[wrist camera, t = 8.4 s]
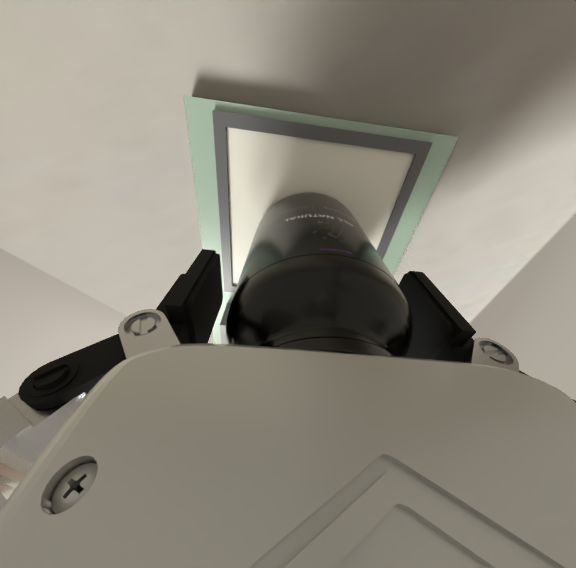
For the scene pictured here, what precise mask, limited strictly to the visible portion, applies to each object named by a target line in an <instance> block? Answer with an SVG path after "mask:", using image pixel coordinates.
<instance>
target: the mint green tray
mask: <svg viewBox="0 0 576 568" xmlns="http://www.w3.org/2000/svg"><path fill="white" fill-rule="evenodd" d="M183 96H184V95H183ZM184 104H185V112H186V120H187V128H188V136H189V144H190V152H191V160H192V168H193V176H194V184H195V193H196V201H197V209H198V217H199V225H200V233H201V241H202V249H207V250H215V251H216V254H220V263H221V277H222V290H223V302H222V305H221V308H220V310H219V313H218V316H217V319H216V321H215V324H214V327H213V329H212V330H213V338H214V344H227V339H226V320H227V316H228V312H229V308H230V304H231V301H232V299H233V296H234V293H235V290H236V287H237V284H238V281H239V278H240V275H241V272H242V270H243V267H244V264H245V261H246V258H247V255H248V252H249V249H250V246H251V244H252V241H253V238H254V235H255V232H256V230H257V227H258V225H259V223H260V221H261V219H262V217H263V216H264V215H265V213H266V212H267V211H268V210H269V209H270V208H271V207H272V206H273V205H274V204H275V203H277V202H278V201H280V200H281V199H283V198H286V197H288V196H291V195H294V194H297V193H305V192H314V193H321V194H325V195H328V196H330V197H332V198H334V199H336V200H338V201H339V202H341V203H342V204H343V205H344V206H346V207H347V209H348V210H349V211H350V212H351V213H352V215H353V216H354V217H355V219H356V220H357V222H358V223H359V225H360V226H361V228H362V229H363V231H364V233H365V234H366V236H367V237H368V239H369V240H370V242H371V243H372V245H373V246H374V248H375V249H376V251H377V253H378V254H379V256H380V257H381V259H382V260H383V262H384V263H385V265H386V266H387V268H388V270H389V271H390V273H391V274H392V276H393V273H394V271H395V269H396V267H397V265H398V263H399V261H400V259H401V257H402V255H403V253H404V251H405V249H406V246H407V244H408V242H409V240H410V238H411V236H412V234H413V232H414V230H415V228H416V226H417V224H418V222H419V220H420V217H421V215H422V213H423V211H424V209H425V207H426V205H427V203H428V201H429V199H430V197H431V195H432V193H433V190H434V188H435V186H436V184H437V182H438V180H439V178H440V176H441V174H442V172H443V170H444V168H445V166H446V164H447V161H448V159H449V157H450V155H451V153H452V151H453V149H454V147H455V145H456V143H457V141H458V139H459V137H456V136H450V135H443V134H436V133H430V132H423V131H416V130H410V129H403V128H397V127H390V126H383V125H377V124H370V123H363V122H357V121H350V120H343V119H337V118H330V117H324V116H317V115H310V114H304V113H297V112H290V111H284V110H277V109H270V108H264V107H257V106H251V105H244V104H237V103H231V102H224V101H217V100H211V99H204V98H197V97H191V96H184Z"/></svg>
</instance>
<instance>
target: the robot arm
mask: <svg viewBox="0 0 576 568" xmlns="http://www.w3.org/2000/svg"><path fill="white" fill-rule="evenodd" d="M399 287H400V288H401V290H402V292H403V294H404V296H405V297H406V299H407V301H408V304H409V306H410V309H411V313H412V318H413V333H412V340H411V344H410V347H409V350H408V352H407V355H406V357H395V356H383V355H365V354H352V353H339V352H327V351H315V350H304V349H292V348H278V347H264V346H249V345H234V344H209V343H208V340H209V337H210V335H211V332H212V329H213V327H214V324H215V321H216V319H217V316H218V313H219V310H220V308H221V305H222V302H223V290H222V277H221V263H220V254H216V251H215V250H207V249H202V251H201V252H200V253H199V255H198V256H197V258H196V259H195V261H194V262H193V264H192V265H191V267H190V268H189V270H188V271H187V273H186V274H181V275H180V276H179V278H178V279H177V280H176V282H175V283H174V285H173V286H172V287H171V289H170V290H169V292H168V293H167V295H166V296H165V297H164V299H163V300H162V302H161V303H160V304H159V306H158V307H157V309H156V310H154V309H147V310H141V311H138V312H135V313H133V314H131V315H129V316H128V317H126V318H125V319H124V320H123V321H122V322H121V323H120V325H119V327H118V332H119V334H117V335H114V336H112V337H110V338H107V339H105V340H102V341H100V342H97V343H95V344H93V345H90V346H88V347H86V348H83V349H81V350H78V351H76V352H73V353H71V354H68V355H66V356H64V357H61V358H59V359H57V360H54V361H52V362H49V363H47V364H46V365H43V366H42V367H40V368H38V369H37V370H36V371H34V372H33V373H31V374H30V375H29V376H28V377H27V378H26V379H25V380H24V382H23V383H22V385H21V386H20V388H19V393H17V394H15V395H14V396H12V397H11V398H9V399H7V398H6V397H5V396H4V397H2V398H0V568H576V401H575V400H573V399H571V398H570V397H569V396H567V395H566V394H565V393H563V392H562V391H560V390H559V389H557V388H555V387H553V386H551V385H549V384H547V383H545V382H543V381H541V380H538V379H536V378H533V377H531V376H529V375H527V374H525V373H523V372H521V371H519V363H518V361H517V359H516V357H515V356H514V355H513V354H512V353H511V352H510V351H509V350H508V349H507V348H505V347H504V346H503V345H501V344H499V343H497V342H495V341H493V340H490V339H487V338H477V339H475V340H473V339H472V338H471V337H472V336H473V335H474V334H475V333H476V331H475V330H474V329H473V328H472V327H471V325H470V324H469V323H468V322H467V321H466V320H465V319H464V318H463V317H462V315H461V314H460V313H459V312H458V311H457V310H456V309H455V308H454V306H453V305H452V304H451V303H450V302H449V301H448V300H447V299H446V298H445V296H444V295H443V294H442V293H441V292H440V291H439V290H438V289H437V287H436V286H435V285H434V284H433V283H432V282H431V281H430V280H429V279H428V277H427V276H426V275H425V274H424V273H423V272H415V271H409V272H408V273H406V274H405V275H404V276H403V278H402V280H401V282H400V284H399ZM86 475H87V476H86Z"/></svg>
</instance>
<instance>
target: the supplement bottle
mask: <svg viewBox="0 0 576 568" xmlns="http://www.w3.org/2000/svg"><path fill="white" fill-rule="evenodd" d="M412 333H413V318H412V313H411V309H410V306H409V304H408V301H407V299H406V297H405V296H404V294H403V292H402V290H401V288H400V287H399V285H398V284H397V282H396V280H395V279H394V277H393V276H392V274H391V273H390V271H389V270H388V268H387V266H386V265H385V263H384V262H383V260H382V259H381V257H380V256H379V254H378V253H377V251H376V249H375V248H374V246H373V245H372V243H371V242H370V240H369V239H368V237H367V236H366V234H365V233H364V231H363V229H362V228H361V226H360V225H359V223H358V222H357V220H356V219H355V217H354V216H353V215H352V213H351V212H350V211H349V210H348V209H347V207H346V206H344V205H343V204H342V203H341V202H339V201H338V200H336V199H334V198H332V197H330V196H328V195H325V194H321V193H314V192H305V193H297V194H294V195H291V196H288V197H286V198H283V199H281V200H280V201H278V202H277V203H275V204H274V205H273V206H272V207H271V208H270V209H269V210H268V211H267V212H266V213H265V215H264V216H263V217H262V219H261V221H260V223H259V225H258V227H257V230H256V232H255V235H254V238H253V241H252V244H251V246H250V249H249V252H248V255H247V258H246V261H245V264H244V267H243V270H242V272H241V275H240V278H239V281H238V284H237V287H236V290H235V293H234V296H233V299H232V301H231V304H230V308H229V312H228V316H227V320H226V339H227V344H234V345H249V346H264V347H278V348H292V349H304V350H315V351H327V352H339V353H352V354H365V355H383V356H395V357H406V355H407V352H408V350H409V347H410V344H411V340H412Z"/></svg>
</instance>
